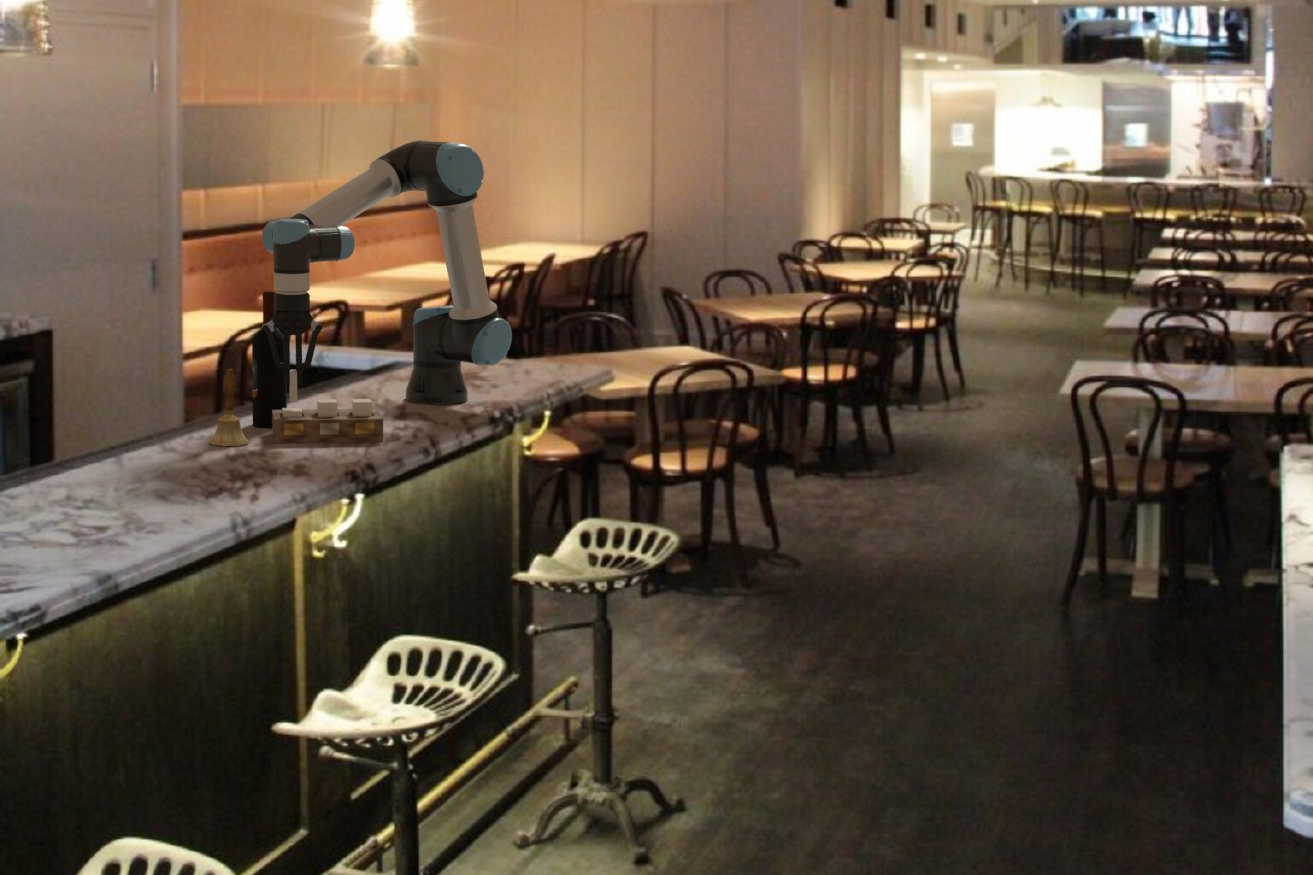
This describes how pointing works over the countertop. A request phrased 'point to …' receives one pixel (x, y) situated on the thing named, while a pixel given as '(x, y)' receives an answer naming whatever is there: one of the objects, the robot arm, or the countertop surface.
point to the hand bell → (229, 418)
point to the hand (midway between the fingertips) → (293, 400)
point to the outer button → (291, 412)
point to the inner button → (361, 407)
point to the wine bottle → (267, 370)
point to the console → (327, 427)
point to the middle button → (326, 407)
